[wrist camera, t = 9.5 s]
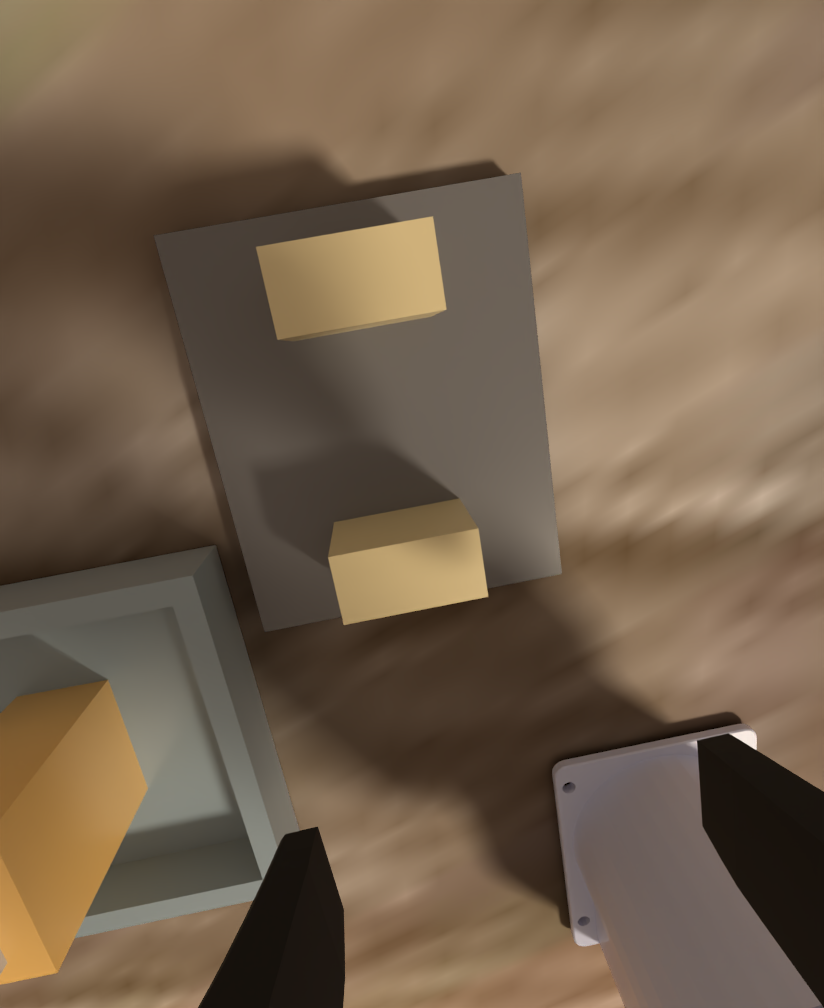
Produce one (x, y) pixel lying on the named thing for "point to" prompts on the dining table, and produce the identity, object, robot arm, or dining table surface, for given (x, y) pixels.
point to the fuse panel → (373, 398)
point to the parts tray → (162, 725)
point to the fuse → (59, 818)
